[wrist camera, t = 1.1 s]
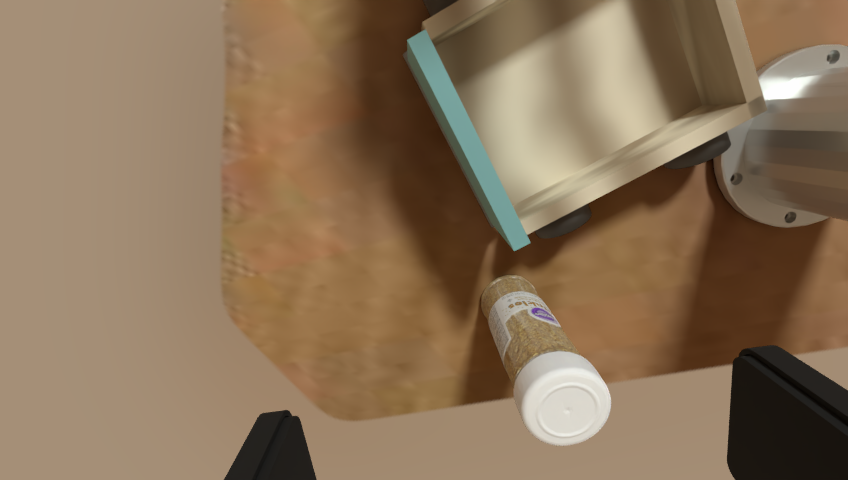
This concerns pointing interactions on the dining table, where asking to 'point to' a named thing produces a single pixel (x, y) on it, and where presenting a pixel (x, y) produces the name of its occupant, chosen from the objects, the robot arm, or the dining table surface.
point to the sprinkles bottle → (544, 365)
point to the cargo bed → (594, 92)
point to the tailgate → (463, 138)
